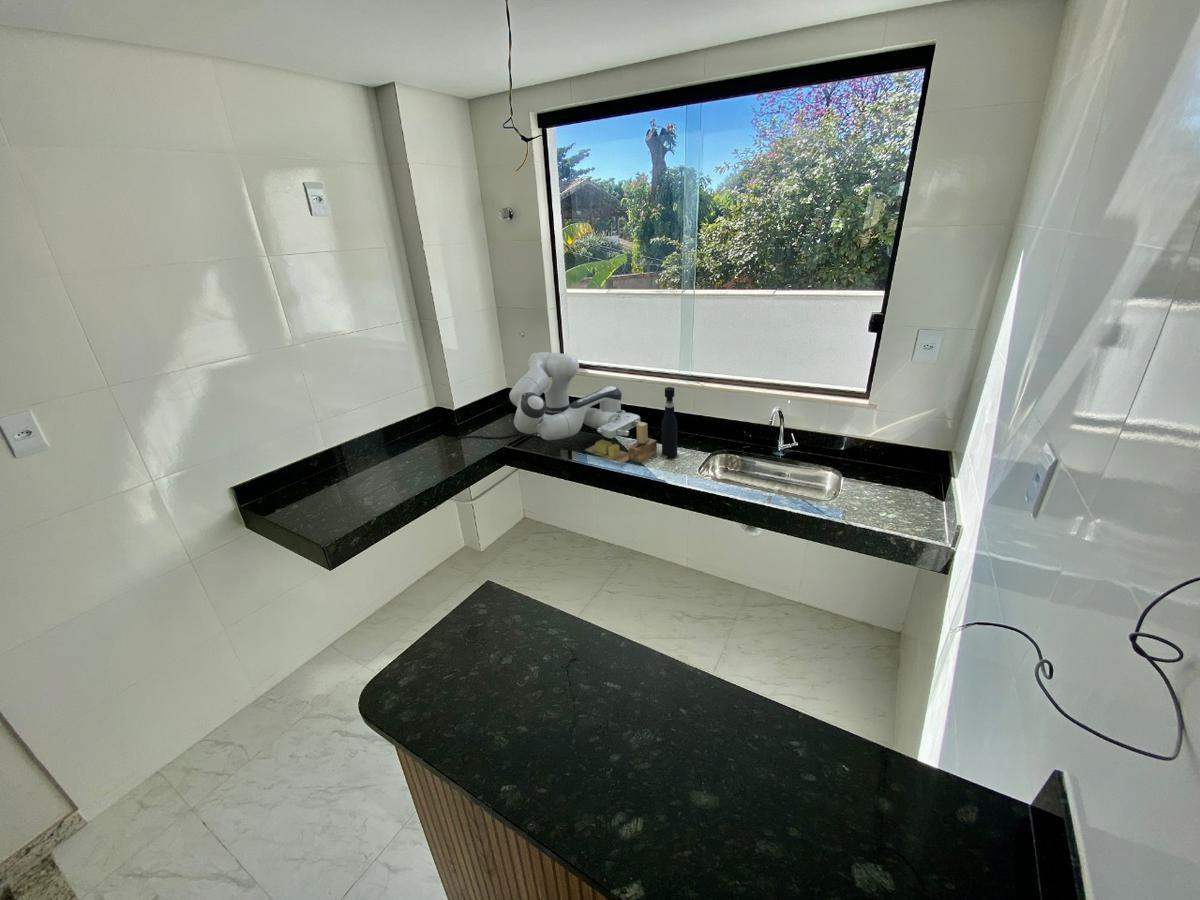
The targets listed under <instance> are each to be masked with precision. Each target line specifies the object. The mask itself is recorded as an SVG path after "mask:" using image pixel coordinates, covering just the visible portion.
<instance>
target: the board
mask: <svg viewBox="0 0 1200 900" xmlns="http://www.w3.org/2000/svg"><path fill="white" fill-rule="evenodd" d="M584 451H585V452H588V453H591V454H594V455H597V456H599V457H601V458H605V459H608V460H611V461H614V462H617V463H620V464H624V463H625V462H628V461H630V460H629V459H628V452H626V451H623V450H620V453H619V454H617V455H616V456H614V457H612V456H609V453H608V454H603V453H600V452H597V451H596V447H595V444H593V445H591V446H589V447H587V448H585V449H584Z"/></svg>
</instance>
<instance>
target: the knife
mask: <svg viewBox="0 0 1200 900" xmlns="http://www.w3.org/2000/svg"><path fill="white" fill-rule="evenodd" d="M648 426H649V425H648V423H647V422H643V421H640V423H638V424H637V426H636V442H639V443H638V444H637V445H636V448H637V447H639V446H641V445H643V444H644V443H646V442H648V441H649V438H650V437H648V436H649V433H648V432H649V429H648Z"/></svg>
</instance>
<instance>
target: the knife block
mask: <svg viewBox="0 0 1200 900" xmlns="http://www.w3.org/2000/svg"><path fill="white" fill-rule="evenodd" d="M648 438H649V441H648V442H646V443H644V444H643V445H641V446H639V447H637V448H636V445H637V444H638V443H639V442H637V441H636V442H634V443H632V444H631V445H629V446H628V447H627V453H628V459H629V460H628V461H632V462H634V463H637V464H641V463H643V462H645V461H646V460H648V459H649V458H651V457H653V456H654V455H656V454H657V452H658V443H657V442H658V441H657V440H656V439H653V438H650V437H648Z"/></svg>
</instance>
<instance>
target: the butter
mask: <svg viewBox="0 0 1200 900" xmlns="http://www.w3.org/2000/svg"><path fill="white" fill-rule="evenodd" d="M594 445H595V447H596V451H597V452H600V453H603V454H608V453H609V451H608V447H610V446H611V445H613V442H611V441H608V440H605V439H600V440H598V441H596V442H595V443H594Z"/></svg>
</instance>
